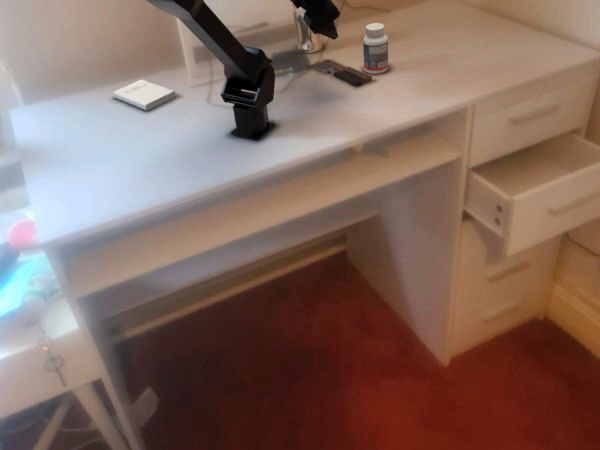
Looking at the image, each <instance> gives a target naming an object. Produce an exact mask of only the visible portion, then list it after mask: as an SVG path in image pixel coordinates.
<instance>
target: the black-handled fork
mask: <svg viewBox="0 0 600 450" xmlns="http://www.w3.org/2000/svg"><path fill="white" fill-rule="evenodd" d="M311 68H313V69H315V70H317V71H319V72H321V73H323V74H325V75H327V74H331V75H333V76H334V77H335V78H337V79H339V80H342V81H344V82H345V83H348V84H350V85H351V86H354V87H356V88H357V87H360V86H363V82H362V81H361V80H359V79H357V78H355V77H353V76H351V75H348V74H346V73H344V72H342V71H340V70H339V71H337V70H335V68H333V67H330V66H328V65H326V64H323V63H322V61H319V62H317V63H314V64H311Z"/></svg>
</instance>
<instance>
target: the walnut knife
mask: <svg viewBox="0 0 600 450" xmlns="http://www.w3.org/2000/svg"><path fill="white" fill-rule="evenodd" d="M321 63H323V64H326V65H328V66H330V67H333V68H335V70H334V71H336V72H337V71H339V70H340V71H342V72H344V73H346V74H348V75H351V76H353V77H355V78H357V79H359V80H361V81H362V83H364V84H368V83H370V82H372V81H373V78H372V76H371V75H369V74H366V73H365V72H363V71H360V70H358V69H356V68H354V67H351V66H349V65H348V66H344V65H342V64H340V63H337V62H336V61H334V60H332V59H323V60H322V61H321Z"/></svg>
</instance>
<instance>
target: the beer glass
mask: <svg viewBox="0 0 600 450" xmlns="http://www.w3.org/2000/svg"><path fill="white" fill-rule="evenodd" d="M290 7H291V13H292V18H293V22H294V26H295V28H296V32H297V33H296V34H297V51H298V50H301V51H302V52H303V53H302V52H301V53H302V54H312V53H317V52H319V51H321V50H322V48H323V43H322V39H321V34H314V33H313V32H312V31H311V29H310V28H309V26H308V25H307V24H306V22H305V21H304V20H303V17H304V13H305V12H306V10H304V9H303V8H301V7H300V8H298V9H297V8H296V6H295V5H294V4H293V2H292V1H290Z"/></svg>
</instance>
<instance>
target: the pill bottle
mask: <svg viewBox="0 0 600 450" xmlns="http://www.w3.org/2000/svg"><path fill="white" fill-rule="evenodd" d="M385 31H386V30H385V25H384V24H383V23H381V22H373V23H369V24H367V25H366V26H365V36H364V37H363V39H362V46H363V47H362V49H363V70H364V71H365V72H366V73H368V74H374V75H378V74H381V73H385V72H387V71H388V70H389V37H388V35H386V34H385Z"/></svg>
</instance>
